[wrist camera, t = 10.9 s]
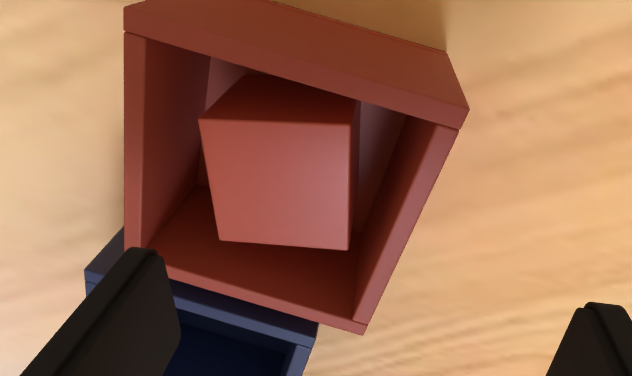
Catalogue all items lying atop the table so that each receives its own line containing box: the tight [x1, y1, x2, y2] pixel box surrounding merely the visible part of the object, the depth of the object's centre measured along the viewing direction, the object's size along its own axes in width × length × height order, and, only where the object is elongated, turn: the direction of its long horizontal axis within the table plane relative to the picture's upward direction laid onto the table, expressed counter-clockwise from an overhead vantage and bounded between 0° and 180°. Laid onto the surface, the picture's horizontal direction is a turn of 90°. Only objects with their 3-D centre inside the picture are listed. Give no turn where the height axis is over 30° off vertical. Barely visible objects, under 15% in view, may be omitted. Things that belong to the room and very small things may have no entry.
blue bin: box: [84, 226, 319, 376], centre depth 20 cm, size 9×9×6 cm
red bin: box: [124, 0, 469, 335], centre depth 15 cm, size 9×9×6 cm
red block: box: [198, 75, 361, 251], centre depth 15 cm, size 4×4×4 cm
